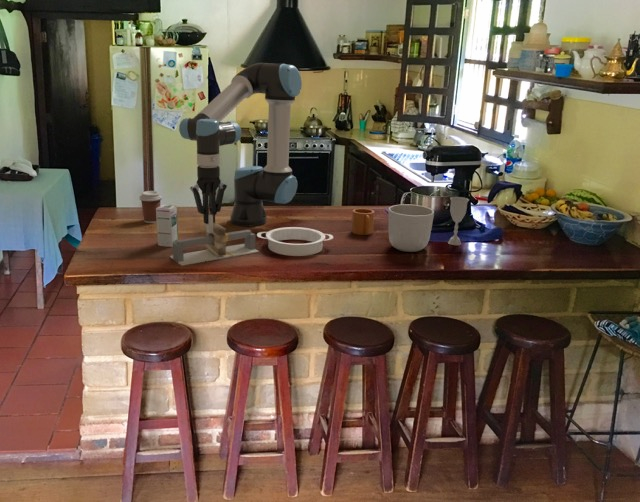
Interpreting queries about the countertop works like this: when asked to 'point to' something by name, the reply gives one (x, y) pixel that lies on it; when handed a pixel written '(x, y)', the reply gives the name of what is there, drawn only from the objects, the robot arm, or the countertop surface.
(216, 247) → the tan flat block
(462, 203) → the chalice
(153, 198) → the coffee cup
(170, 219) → the syrup box
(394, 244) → the planter
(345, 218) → the countertop surface
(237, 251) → the rail
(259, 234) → the pot
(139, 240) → the countertop surface
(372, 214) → the mug
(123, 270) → the countertop surface
